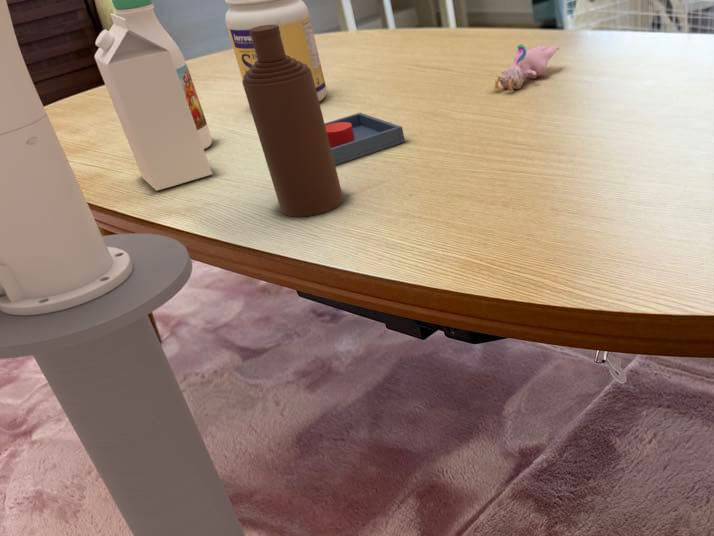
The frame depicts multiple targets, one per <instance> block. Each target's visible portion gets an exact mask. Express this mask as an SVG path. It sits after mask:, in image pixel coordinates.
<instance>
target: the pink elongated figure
mask: <svg viewBox="0 0 714 536" xmlns="http://www.w3.org/2000/svg"><path fill="white" fill-rule="evenodd" d="M516 48H517V52H516V53H515V56H514V59H513V60H514V61H513V64H512V65H511V66H509V67H508V68H506V69H503V70H502V71H501V73H502V75H501V76H499V75H498V76H497V80H496V79H494V81H495V82H494V84H495V85H494V90H496V92H497V93H498V91H499V90H501V88H500V86H499V83H500V85H501V86H502V87H503V88H504V89H507V91H510V93H512V92H514V90H519V89H521V88H522V87H523V85H524V81H525V80H526V79H527V78H528V79H532V80H533V79H537V77H538V76H541V75H542V74H544V73H545V71H546V70H547V67H548V62H549V61H550V60H551V58H552V57H553V56H554V55H555V53H556V52H557V51H558V50H560V46H557V45H552V46H547V45H537V46H535V47H534V48H531V49H528V50H527V49H526V46H525V45H523V44H522V43H519V44H518V45H517V47H516Z"/></svg>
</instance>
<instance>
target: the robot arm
mask: <svg viewBox="0 0 714 536" xmlns="http://www.w3.org/2000/svg"><path fill="white" fill-rule="evenodd" d="M11 17H12V16H11V14H10V10H9V6H8V3H7V0H0V311H2V312H4V313H7V314H11V315H20V316H30V315H41V314H48V313H53V312H57V311H62V310H66V309H69V308H72V307H76V306H79V305H81V304H84V303H87V302H90V301H92V300H94V299H96V298H98V297H101V296H103V295H104V294H106V293H108V292H110V291H112V290H113V289H115V288H116V287H118V286H119V285H121V284H122V283H123V282H124V281H125V280H126V279H127V278H128V277H129V275H130V274H131V272H132V269H133V263H132V261H131V259H130V257H129V254H128V253H126V252H125V251H124V250H121V249H118V248H113V247H107V246H106V244H105V241H104V239H103V237H102V236H103V235H102V233H101V230H100V227H99V226H98V224H97V222H96V220H95V217H94V215H93V213H92V210H91V208H90V206H89V203H88V201H87V200H86V197H85V195H84V192H83V191H82V188H81V186H80V184H79V182H78V179H77V177H76V175H75V173H74V171H73V168H72V166H71V164H70V162H69V159H68V158H67V155H66V153H65V150H64V148H63V146H62V144H61V142H60V140H59V137H58V135H57V133H56V131H55V129H54V126H53V124H52V122H51V119H50V117H49V115H48V113H47V111H46V109H45V107H44V105H43V103H42V100H41V98H40V96H39V93H38V91H37V89H36V87H35V84H34V82H33V80H32V77H31V74H30V72H29V69H28V67H27V64H26V63H25V59H24V57H23V54H22V51H21V48H20V46H19V43H18V39H17V36H16V33H15V28H14V25H13V22H12V18H11Z"/></svg>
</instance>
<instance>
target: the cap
mask: <svg viewBox="0 0 714 536" xmlns="http://www.w3.org/2000/svg"><path fill="white" fill-rule="evenodd" d="M325 127H326V131H327V135H328V139H329V143H330V147H331V148H334V147H337V146H340V145H343V144H346V143H349V142H352V141H355V137H354V132H353V128H352V124H351V123H348V122H338V123H332V124H328V125H326V126H325Z"/></svg>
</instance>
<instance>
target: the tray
mask: <svg viewBox="0 0 714 536" xmlns="http://www.w3.org/2000/svg"><path fill="white" fill-rule="evenodd" d="M338 122H348V123H351V124H352V128H353V132H354V137H355V141H352V142H349V143H346V144H343V145H340V146H337V147H334V148H331V151H332V155H333V159H334V163H335V166H337V165H341V164H343V163H347V162H349V161H352V160H355V159H358V158H361V157H365V156H367V155H370V154H373V153H375V152H379V151H382V150H385V149H388V148H391V147H394V146H396V145H397V146H398V145H399V144H402V143H406V140H405V135H404V130H403V126H401V125H398V124H395V123H392V122H390V121H386V120H383V119H380V118H378V117H375V116H371V115H368V114H365V113H362V112H357V113H353V114H351V115H347V116H344V117H342V118H338V119H335V120H331V121H328V122H324V123H325V126H326V125H328V124H332V123H338Z"/></svg>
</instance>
